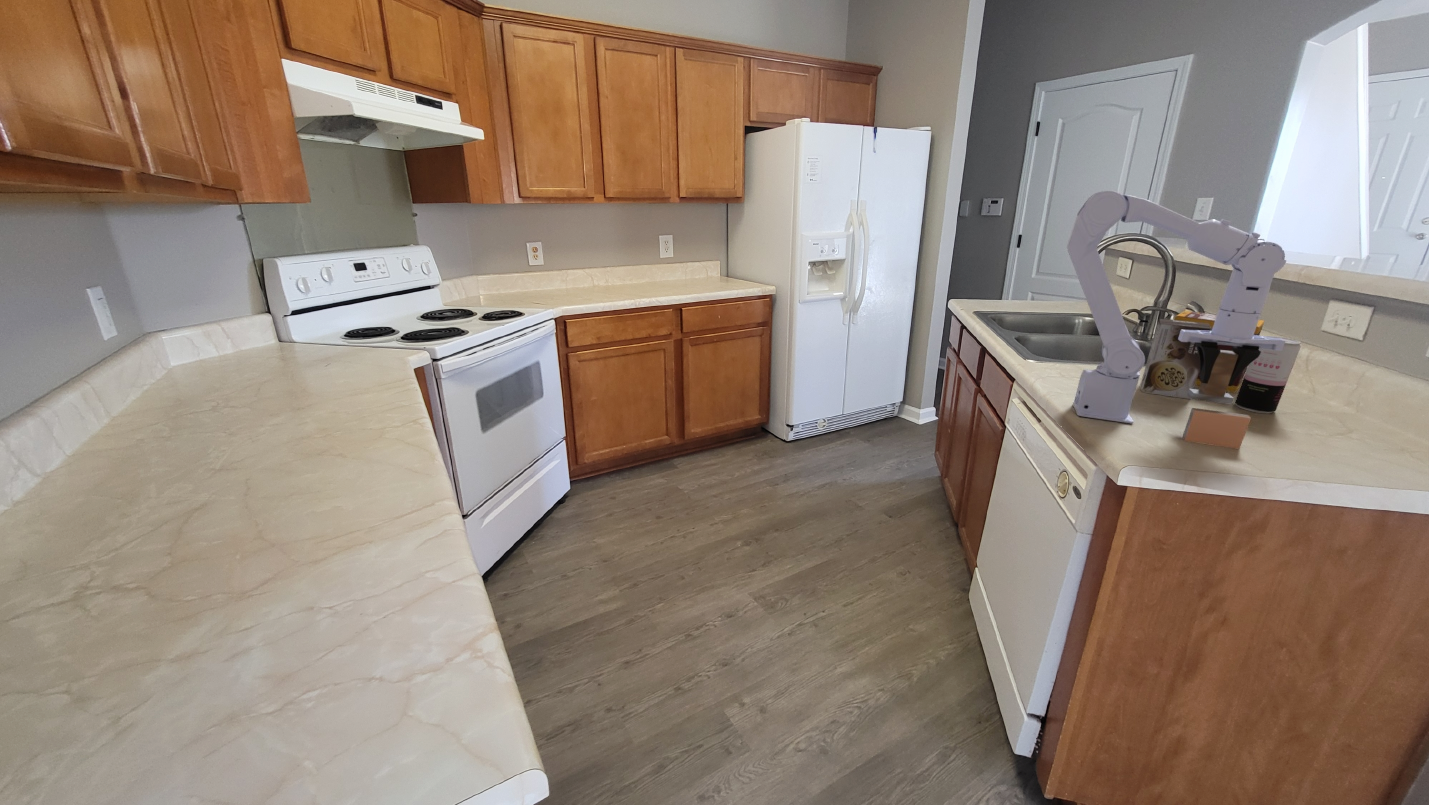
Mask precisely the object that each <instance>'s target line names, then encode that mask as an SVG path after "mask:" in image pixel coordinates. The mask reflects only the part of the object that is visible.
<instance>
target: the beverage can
mask: <svg viewBox="0 0 1429 805" xmlns="http://www.w3.org/2000/svg"><path fill="white" fill-rule="evenodd" d="M1264 336H1265V337H1273V338H1281V339H1283V340H1285V344H1284V346H1283V349H1282V351H1275V350H1272V349H1262V348H1259V351H1261V353H1260V355H1259V357H1258V358H1256V359H1255V360H1254V361H1253V362H1251V363H1250V364H1249V365H1248V367H1247V370H1246V372H1245V375H1244V378H1243V381H1242V384H1241V385H1240V387H1239V389H1238V392H1237V395H1236V399H1235V401H1234V404H1235V405H1236V406H1237V407H1238V408H1240V409H1242V410H1246V411H1250V412H1253V413H1258V414H1271V413H1274V412H1276V411H1277V409H1278V406H1279V403H1280V401H1281V398H1282V396H1283V394H1284V390H1285V388H1286V386H1287V383H1288V380H1289V377H1290V375H1291V373H1292V370H1293V368H1294V365H1295V362H1296V360H1297V359H1298V355H1299V352H1300V350H1301V347H1302V346H1301V343H1302V342H1301V341H1300V340H1296V339H1292V338H1287V337H1281V336H1272V335H1264Z"/></svg>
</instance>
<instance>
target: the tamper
mask: <svg viewBox="0 0 1429 805" xmlns="http://www.w3.org/2000/svg"><path fill="white" fill-rule="evenodd" d="M1220 351H1221V352H1220V353H1219V355H1218V357H1217V359H1216V361H1215V363H1214V365H1213V368H1212V371H1211V375H1210V378H1209V380H1208V382H1207V383H1202V382H1201V384H1200V386H1199V387H1198V389H1196V388H1194V389H1189V390H1188V393H1187V395H1188V396H1189V397H1190V398H1191V399H1190V400H1195V401H1201V402H1202V401H1203V402H1211V403H1220V404H1227V405H1233V402H1234V399H1235V397H1233V396H1232V395H1231V394H1230V393H1228V392H1227V391H1226V390H1227V387H1228V384H1229V381H1230V378H1231V375H1232V373H1233V370H1234V367H1235V364H1236V361H1237V358H1238V354H1236V353H1235V352H1233V351H1226V350H1220ZM1226 392H1227V393H1226Z"/></svg>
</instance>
